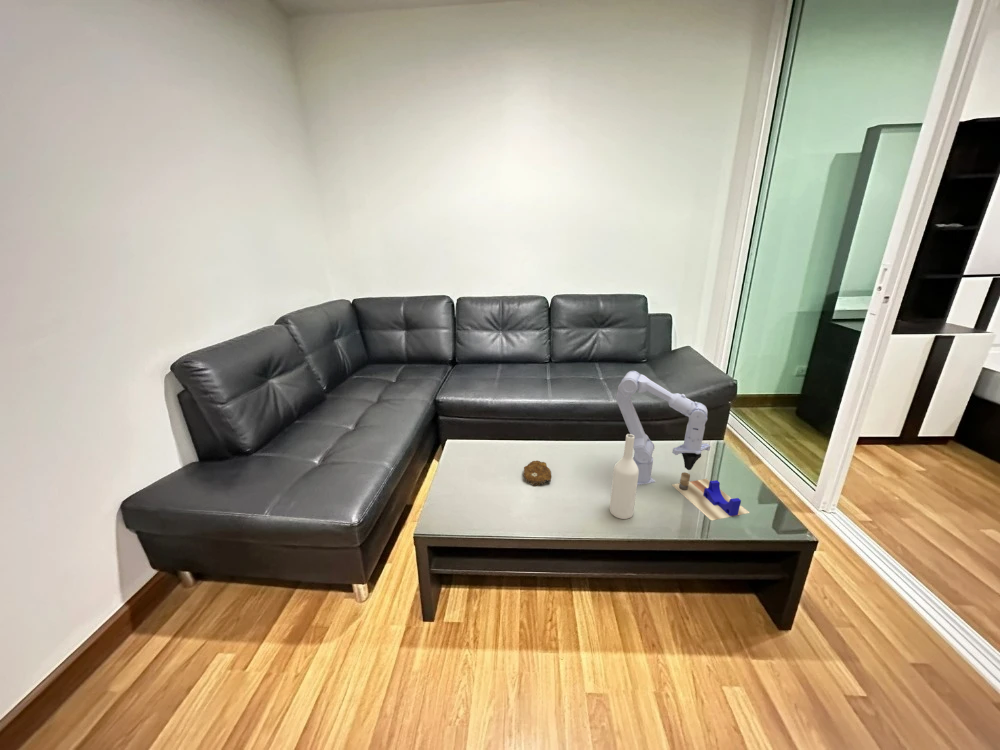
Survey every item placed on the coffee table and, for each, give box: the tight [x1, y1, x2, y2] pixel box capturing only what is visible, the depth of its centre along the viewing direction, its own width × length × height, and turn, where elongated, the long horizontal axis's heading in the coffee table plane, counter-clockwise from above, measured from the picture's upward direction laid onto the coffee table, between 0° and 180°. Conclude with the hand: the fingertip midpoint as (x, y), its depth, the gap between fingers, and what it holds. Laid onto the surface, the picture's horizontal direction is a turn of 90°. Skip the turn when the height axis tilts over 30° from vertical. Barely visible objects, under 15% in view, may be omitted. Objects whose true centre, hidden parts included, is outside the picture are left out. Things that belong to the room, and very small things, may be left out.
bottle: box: [609, 433, 639, 520], centre depth 133 cm, size 8×8×30 cm
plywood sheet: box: [671, 478, 751, 521], centre depth 144 cm, size 16×21×1 cm
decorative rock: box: [523, 460, 552, 487], centre depth 159 cm, size 11×4×15 cm
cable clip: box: [703, 479, 742, 517], centre depth 140 cm, size 12×4×6 cm, turn 10°
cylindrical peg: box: [679, 471, 691, 490], centre depth 149 cm, size 3×3×6 cm
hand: (687, 468), depth 147 cm, fingers closed
